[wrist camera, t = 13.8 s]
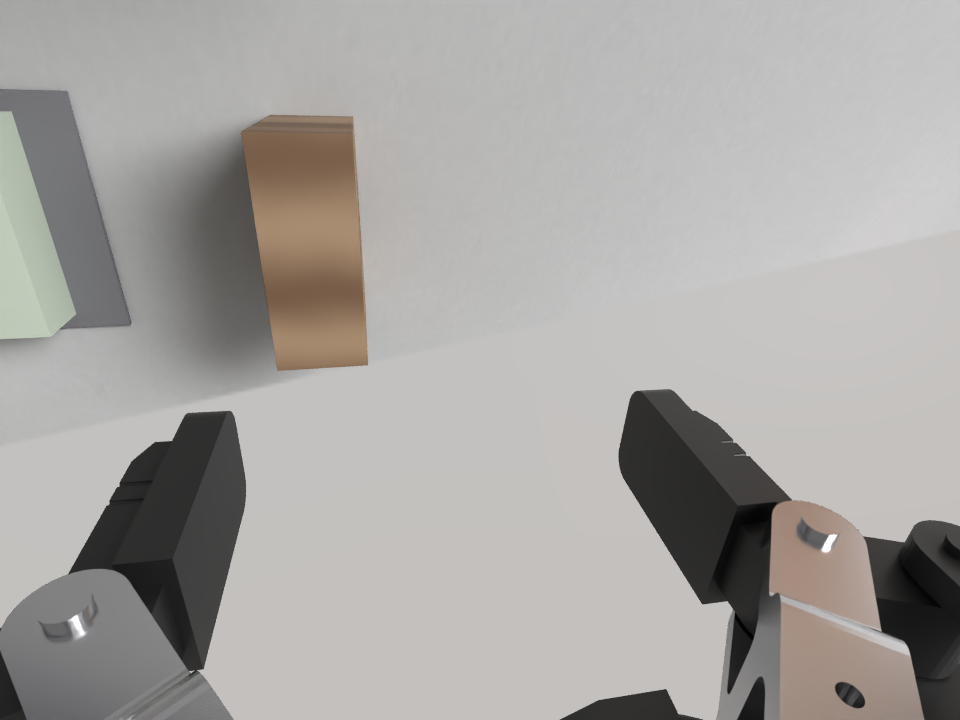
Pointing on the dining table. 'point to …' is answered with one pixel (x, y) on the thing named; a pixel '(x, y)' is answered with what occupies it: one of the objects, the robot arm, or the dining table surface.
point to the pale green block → (26, 250)
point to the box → (309, 238)
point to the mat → (69, 204)
